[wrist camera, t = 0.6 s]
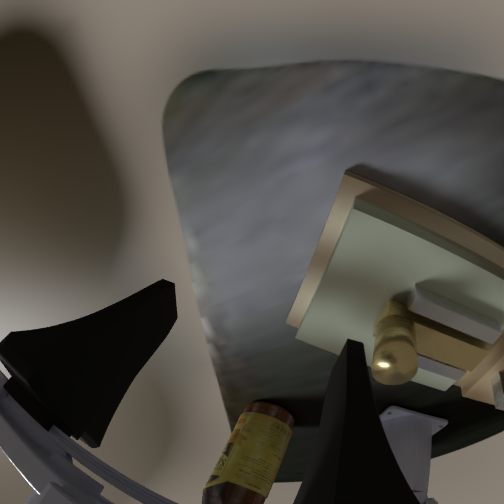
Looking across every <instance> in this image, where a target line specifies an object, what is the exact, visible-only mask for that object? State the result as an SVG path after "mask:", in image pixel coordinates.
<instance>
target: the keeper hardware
mask: <svg viewBox="0 0 504 504" xmlns="http://www.w3.org/2000/svg"><path fill="white" fill-rule="evenodd" d="M407 307H408V310H410V311H412V312H415V313H417V314H420V315H422V316H424V317H427V318H429V319H432V320H434V321H437V322H439V323H441V324H444V325H446V326H449V327H451V328H454V329H456V330H458V331H461V332H463V333H466V334H468V335H471V336H473V337H475V338H478V339H480V340H483V341H485V342H487V343H490V344H492V345H493V344H494V343H495V341H496V340H497V339H498V338H499V337H500V335H501V334H502V332H501V329H500V326H499V323H498V321H497V320H494V319H492V318H490V317H488V316H486V315H484V314H482V313H479V312H477V311H475V310H473V309H471V308H469V307H466V306H464V305H462V304H460V303H458V302H455V301H453V300H451V299H449V298H446V297H444V296H442V295H440V294H438V293H435V292H433V291H431V290H428V289H426V288H424V287H422V286H419V285H417V284H414V286H413V287H412V289H411V291H410V292H409V294H408V295H407ZM418 368H421V369H424V370H427V371H430V372H432V373H435V374H438V375H441V376H444V377H448V378H451V379H454V380H457V381H459V380H460V379H461V378H462V377H463V376H464V375H465V374H466V373H467V370H464V369H461V368H458V367H455V366H452V365H450V364H447V363H444V362H441V361H438V360H435V359H433V358H430V357H427V356H424V355H422V354H419V353H418ZM491 385H492V390H493V396H494V402H495V408H496V409H500V410H504V373H501V372H498V373H497V374H496V375H495V376H494V377H493V378H492V379H491Z"/></svg>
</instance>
